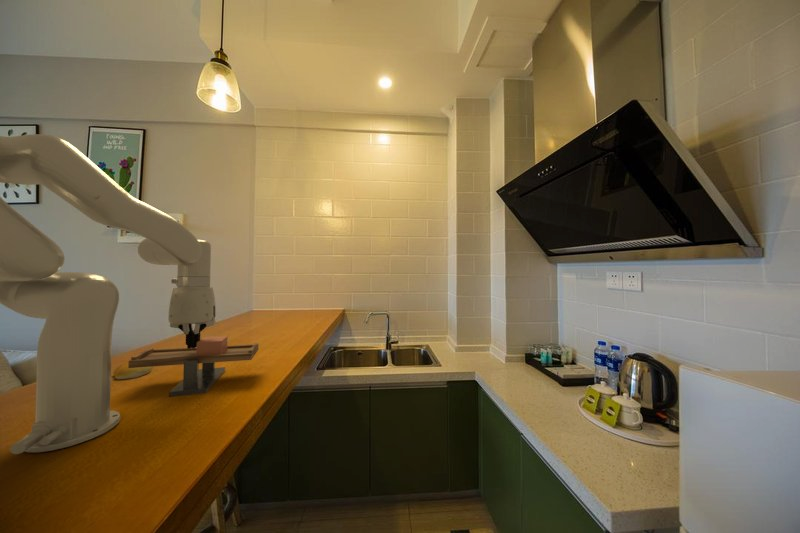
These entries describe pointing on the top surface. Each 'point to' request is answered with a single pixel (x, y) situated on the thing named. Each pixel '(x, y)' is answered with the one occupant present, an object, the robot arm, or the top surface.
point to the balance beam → (190, 356)
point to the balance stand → (197, 378)
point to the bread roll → (130, 371)
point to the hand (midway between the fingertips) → (192, 346)
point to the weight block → (211, 345)
